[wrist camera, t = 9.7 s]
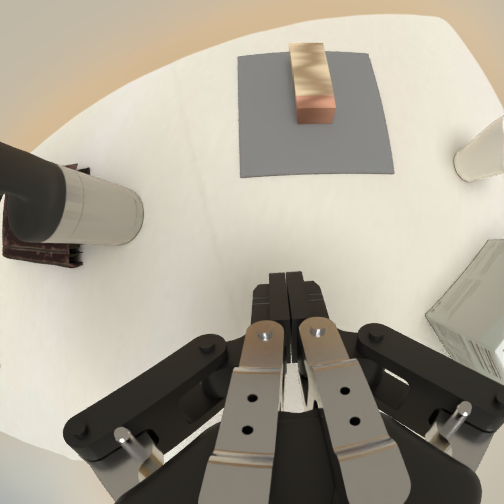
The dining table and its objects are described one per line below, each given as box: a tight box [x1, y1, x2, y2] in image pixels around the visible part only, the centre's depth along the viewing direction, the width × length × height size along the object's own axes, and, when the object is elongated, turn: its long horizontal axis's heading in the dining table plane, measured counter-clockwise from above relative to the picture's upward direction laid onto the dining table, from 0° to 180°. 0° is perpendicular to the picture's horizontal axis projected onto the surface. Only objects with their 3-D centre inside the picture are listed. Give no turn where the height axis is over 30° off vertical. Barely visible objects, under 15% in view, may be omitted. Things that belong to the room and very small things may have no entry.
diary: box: [2, 164, 90, 268], centre depth 43 cm, size 19×25×5 cm
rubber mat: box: [238, 51, 394, 178], centre depth 37 cm, size 22×22×1 cm
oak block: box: [289, 43, 336, 124], centre depth 34 cm, size 5×5×12 cm
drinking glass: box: [454, 115, 504, 182], centre depth 26 cm, size 7×7×15 cm
